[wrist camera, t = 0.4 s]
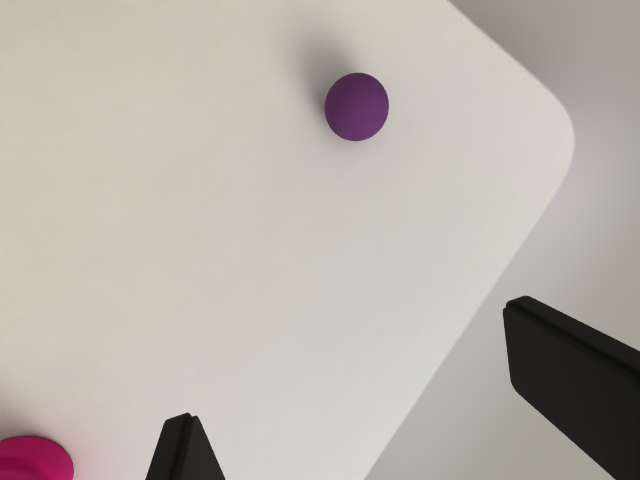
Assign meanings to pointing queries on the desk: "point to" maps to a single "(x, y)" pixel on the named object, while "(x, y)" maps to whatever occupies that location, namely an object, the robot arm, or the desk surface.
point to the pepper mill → (33, 460)
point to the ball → (356, 106)
